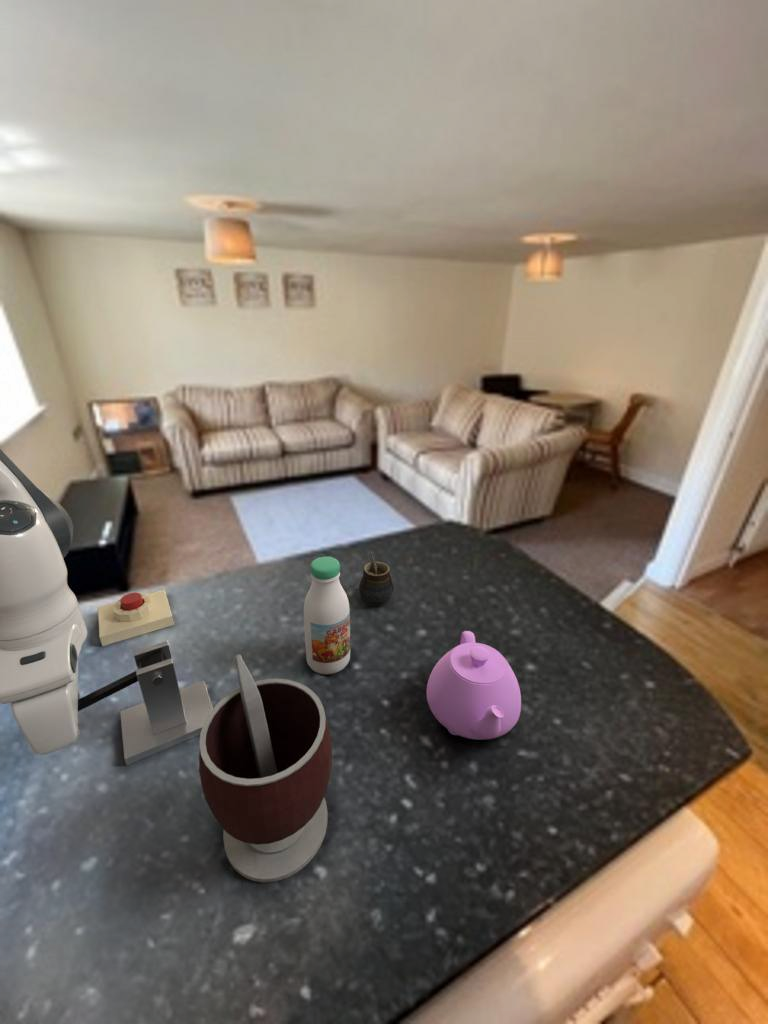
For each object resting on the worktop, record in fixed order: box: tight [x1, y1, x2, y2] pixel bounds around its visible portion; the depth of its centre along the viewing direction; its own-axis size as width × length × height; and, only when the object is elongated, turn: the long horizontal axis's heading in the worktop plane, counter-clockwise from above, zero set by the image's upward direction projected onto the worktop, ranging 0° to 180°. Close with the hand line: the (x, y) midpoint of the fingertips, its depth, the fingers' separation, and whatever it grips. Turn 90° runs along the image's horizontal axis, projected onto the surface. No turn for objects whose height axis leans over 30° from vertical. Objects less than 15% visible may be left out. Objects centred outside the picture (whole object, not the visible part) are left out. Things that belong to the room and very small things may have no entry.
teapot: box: [426, 630, 522, 741], centre depth 66 cm, size 20×14×12 cm
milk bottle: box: [303, 556, 351, 675], centre depth 75 cm, size 8×8×20 cm
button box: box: [97, 589, 175, 647], centre depth 86 cm, size 12×10×4 cm
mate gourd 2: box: [358, 550, 395, 607], centre depth 93 cm, size 7×8×10 cm
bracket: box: [119, 640, 214, 766], centre depth 64 cm, size 12×9×13 cm
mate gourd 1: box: [198, 654, 333, 883], centre depth 51 cm, size 16×14×20 cm
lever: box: [78, 651, 166, 712], centre depth 60 cm, size 13×5×2 cm, turn 121°
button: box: [119, 591, 143, 611], centre depth 85 cm, size 4×4×2 cm
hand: (72, 717), depth 58 cm, fingers closed on lever, 5 cm apart
